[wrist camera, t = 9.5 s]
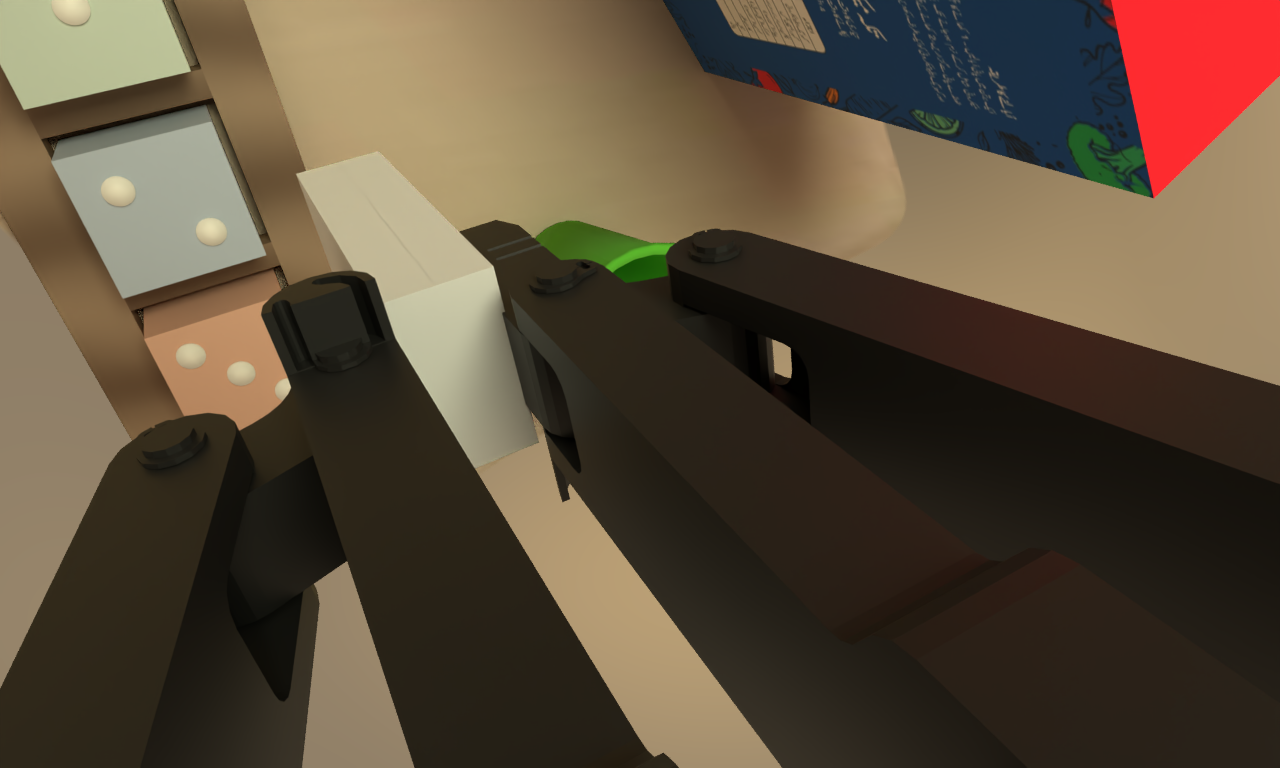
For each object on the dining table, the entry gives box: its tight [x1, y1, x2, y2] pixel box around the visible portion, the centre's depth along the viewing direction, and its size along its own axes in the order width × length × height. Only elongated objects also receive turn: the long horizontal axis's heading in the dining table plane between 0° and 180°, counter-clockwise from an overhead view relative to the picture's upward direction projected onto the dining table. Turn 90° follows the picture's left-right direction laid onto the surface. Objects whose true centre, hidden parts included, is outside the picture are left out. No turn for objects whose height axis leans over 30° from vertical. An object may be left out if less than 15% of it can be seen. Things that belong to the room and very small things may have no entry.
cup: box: [536, 221, 675, 283], centre depth 46 cm, size 9×9×11 cm
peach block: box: [144, 267, 291, 431], centre depth 42 cm, size 6×6×4 cm
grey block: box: [51, 105, 266, 299], centre depth 38 cm, size 6×6×4 cm
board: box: [0, 0, 332, 440], centre depth 39 cm, size 24×12×2 cm, turn 9°
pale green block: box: [0, 0, 191, 110], centre depth 33 cm, size 6×6×4 cm
